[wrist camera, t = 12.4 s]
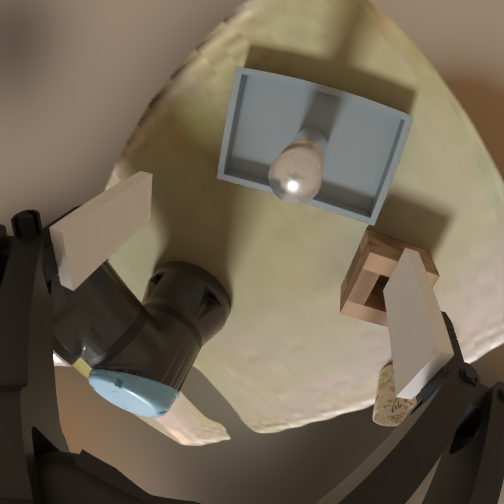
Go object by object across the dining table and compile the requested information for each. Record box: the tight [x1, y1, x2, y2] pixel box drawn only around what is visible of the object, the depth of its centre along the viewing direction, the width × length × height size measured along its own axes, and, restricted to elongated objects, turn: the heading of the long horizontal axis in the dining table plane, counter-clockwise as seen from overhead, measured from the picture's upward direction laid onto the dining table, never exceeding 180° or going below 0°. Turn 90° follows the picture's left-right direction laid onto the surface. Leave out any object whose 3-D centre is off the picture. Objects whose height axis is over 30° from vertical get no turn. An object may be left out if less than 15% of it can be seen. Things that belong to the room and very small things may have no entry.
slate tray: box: [216, 67, 413, 226], centre depth 33 cm, size 20×14×3 cm
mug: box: [373, 364, 417, 426], centre depth 45 cm, size 8×13×10 cm, turn 18°
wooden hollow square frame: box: [340, 229, 439, 327], centre depth 38 cm, size 10×10×6 cm
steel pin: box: [268, 127, 327, 204], centre depth 27 cm, size 4×4×16 cm
